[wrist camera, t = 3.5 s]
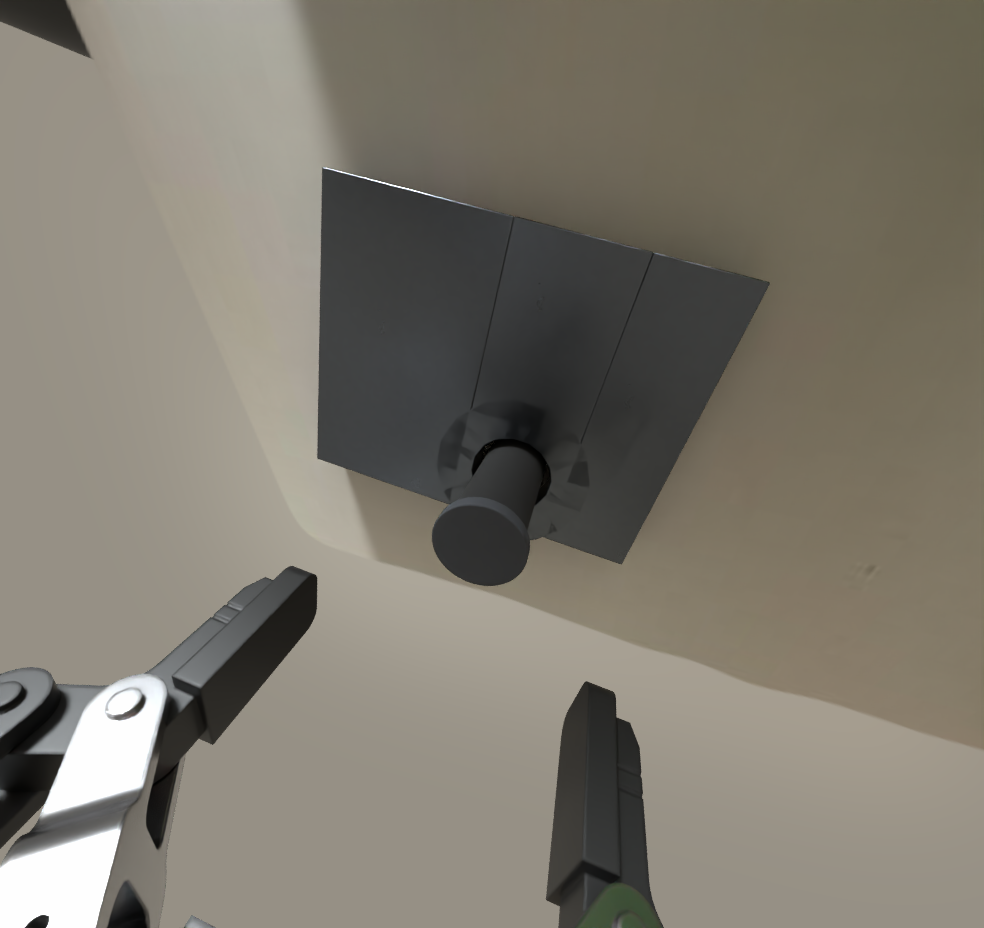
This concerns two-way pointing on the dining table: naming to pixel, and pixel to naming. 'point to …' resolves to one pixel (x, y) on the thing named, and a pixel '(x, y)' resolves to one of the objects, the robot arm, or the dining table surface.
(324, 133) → the dining table surface
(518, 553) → the plug
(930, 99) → the dining table surface
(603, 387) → the plate
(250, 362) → the dining table surface
